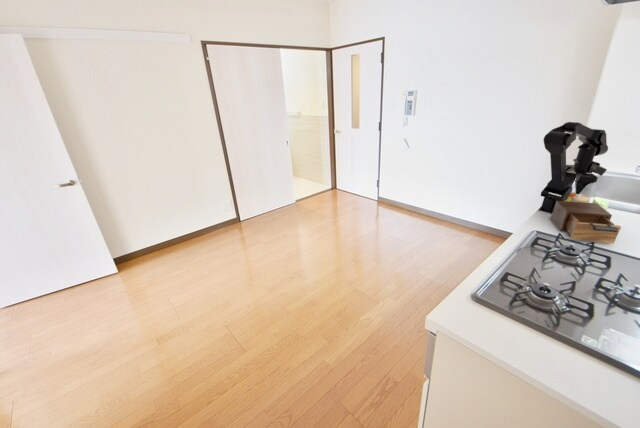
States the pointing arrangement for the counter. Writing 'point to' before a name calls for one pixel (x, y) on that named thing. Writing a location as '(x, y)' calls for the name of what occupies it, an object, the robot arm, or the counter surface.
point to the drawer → (591, 228)
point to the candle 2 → (601, 202)
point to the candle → (580, 198)
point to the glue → (571, 196)
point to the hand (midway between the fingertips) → (573, 190)
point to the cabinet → (575, 211)
